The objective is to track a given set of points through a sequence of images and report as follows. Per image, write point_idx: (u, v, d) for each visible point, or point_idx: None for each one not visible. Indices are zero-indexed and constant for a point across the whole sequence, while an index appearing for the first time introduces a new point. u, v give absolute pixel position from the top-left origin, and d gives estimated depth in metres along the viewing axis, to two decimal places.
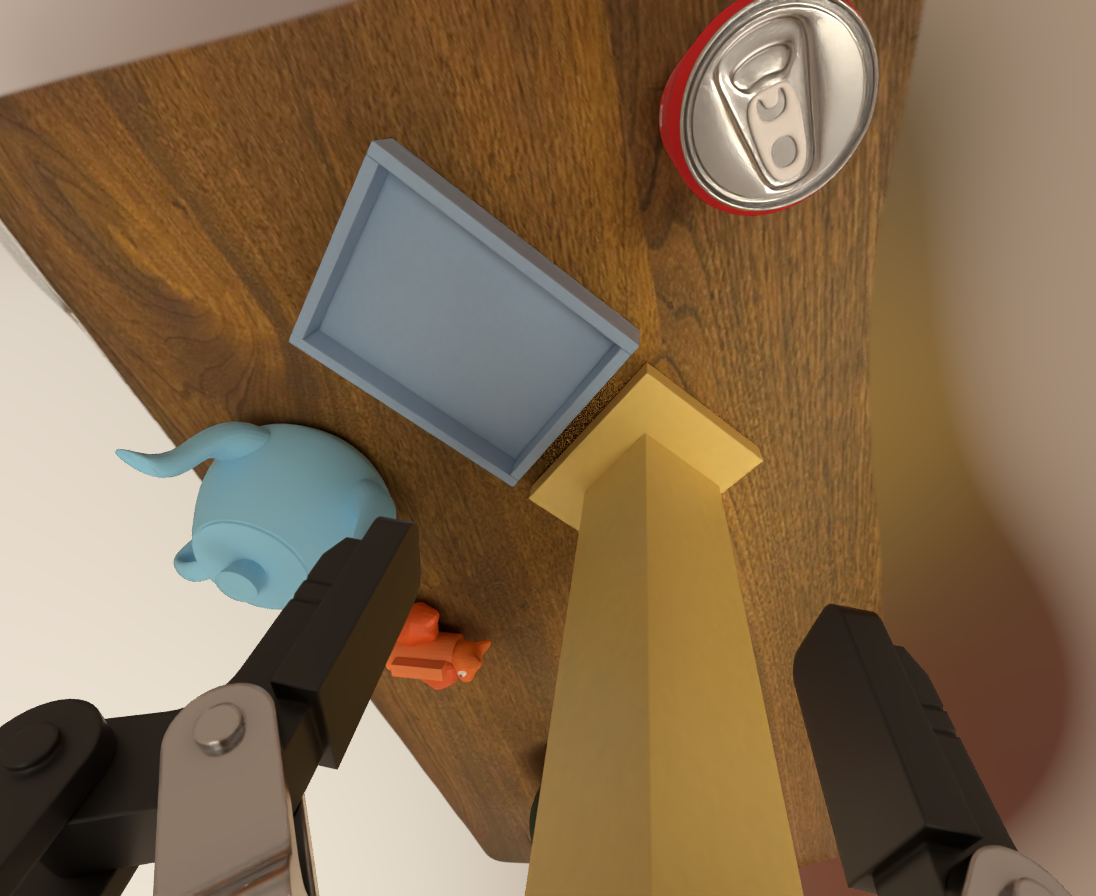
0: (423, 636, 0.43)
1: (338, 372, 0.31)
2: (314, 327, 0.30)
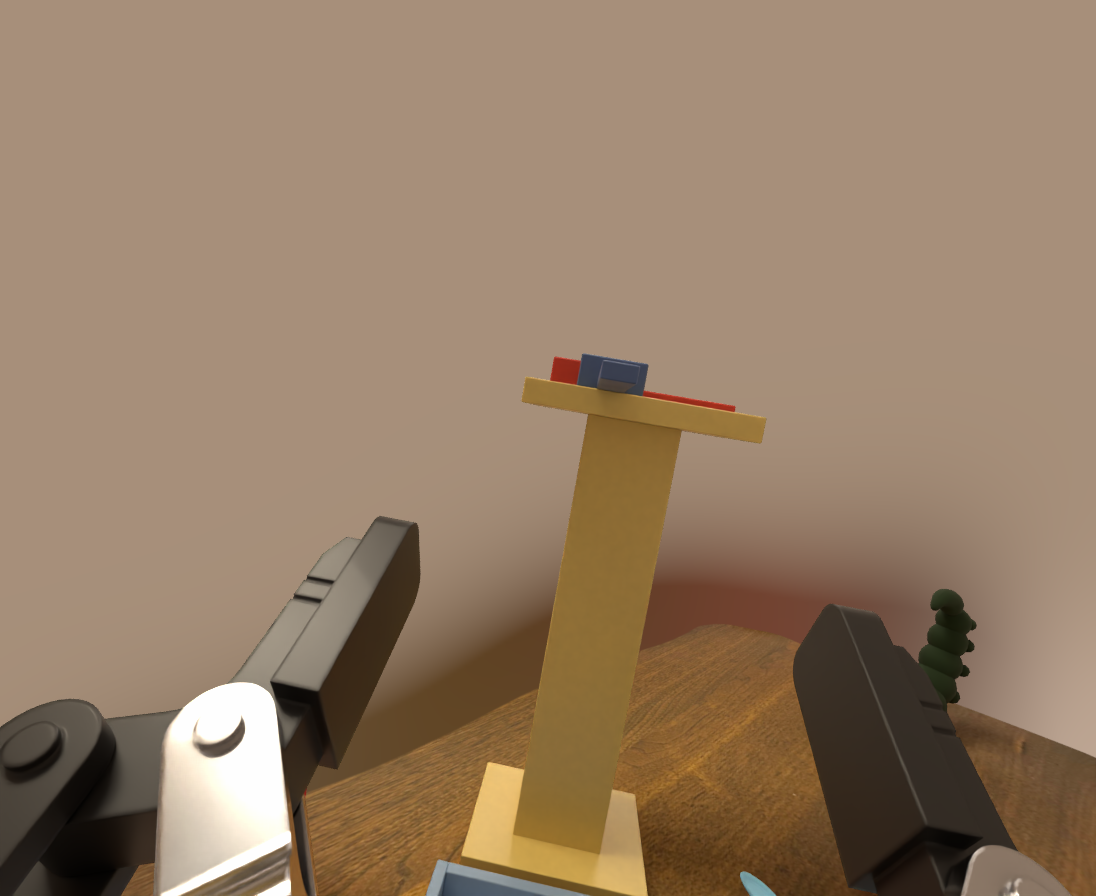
0: None
1: None
2: None
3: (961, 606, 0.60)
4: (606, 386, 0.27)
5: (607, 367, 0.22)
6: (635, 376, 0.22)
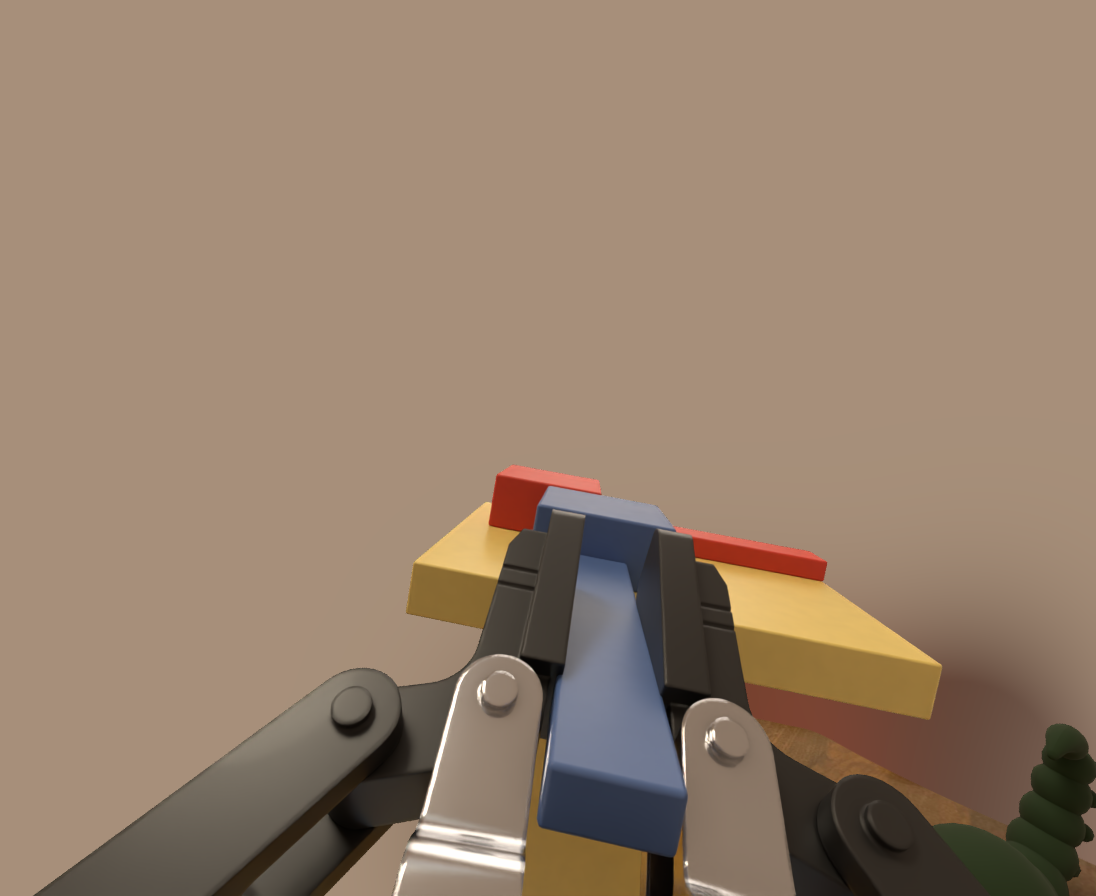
0: None
1: None
2: None
3: (1086, 751, 0.44)
4: None
5: (565, 791, 0.06)
6: (670, 833, 0.06)
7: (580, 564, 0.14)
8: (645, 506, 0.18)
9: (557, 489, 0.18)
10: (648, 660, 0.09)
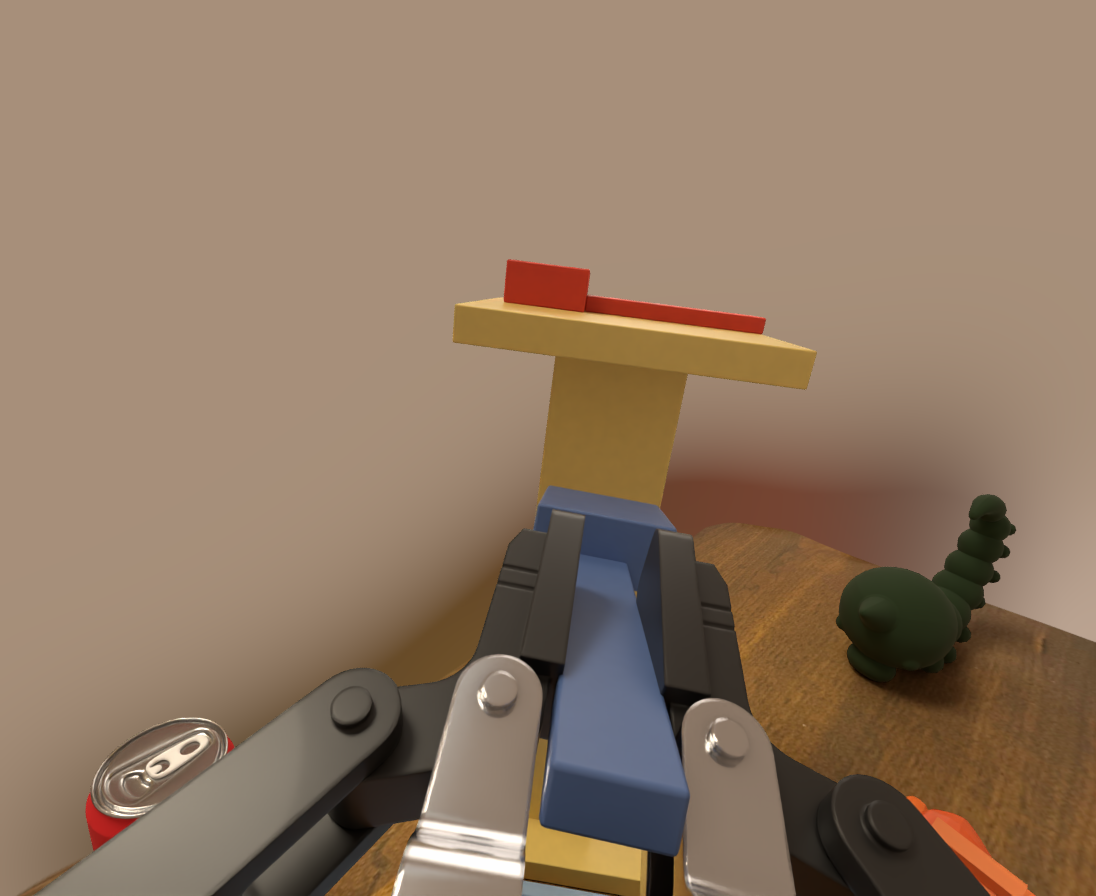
0: None
1: None
2: None
3: (1003, 513, 0.53)
4: None
5: (566, 791, 0.06)
6: (673, 832, 0.06)
7: (580, 563, 0.14)
8: (645, 506, 0.18)
9: (557, 488, 0.18)
10: (649, 659, 0.09)
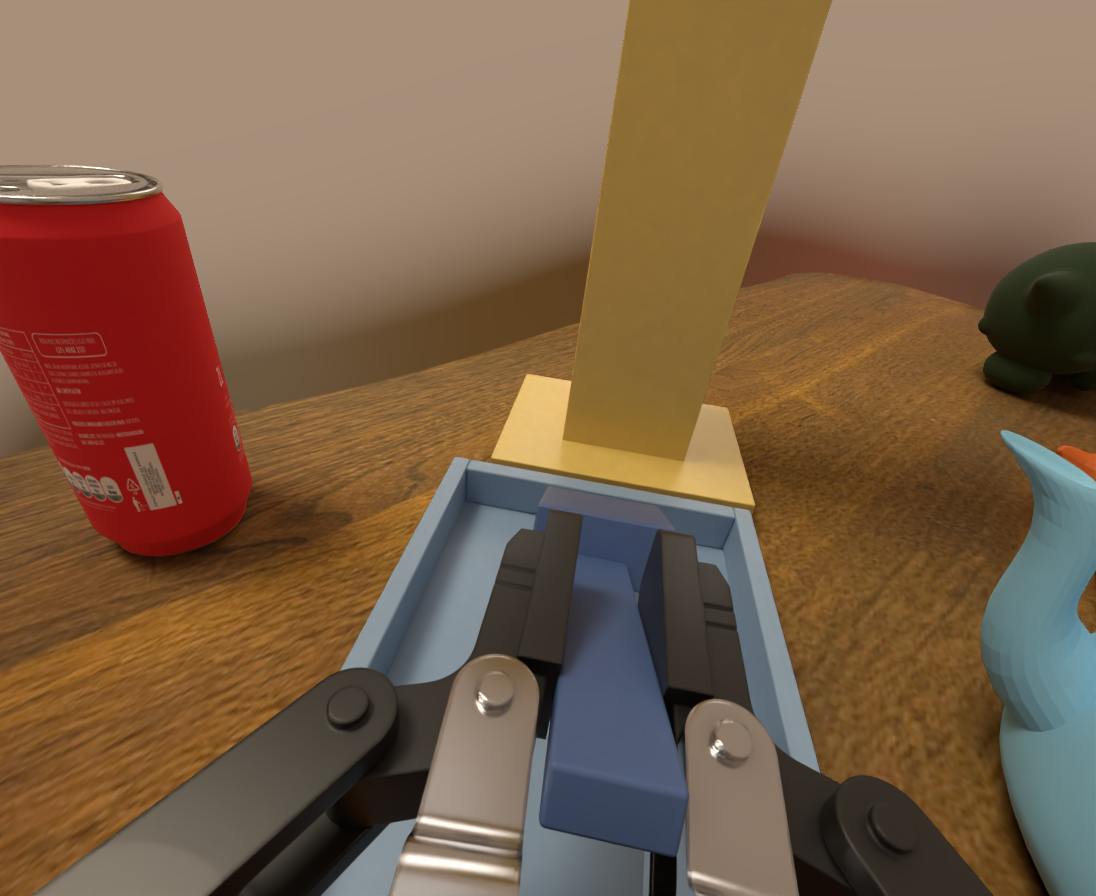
0: None
1: None
2: None
3: None
4: None
5: (567, 792, 0.06)
6: (672, 833, 0.06)
7: (580, 564, 0.14)
8: (645, 506, 0.18)
9: (557, 489, 0.18)
10: (649, 660, 0.09)
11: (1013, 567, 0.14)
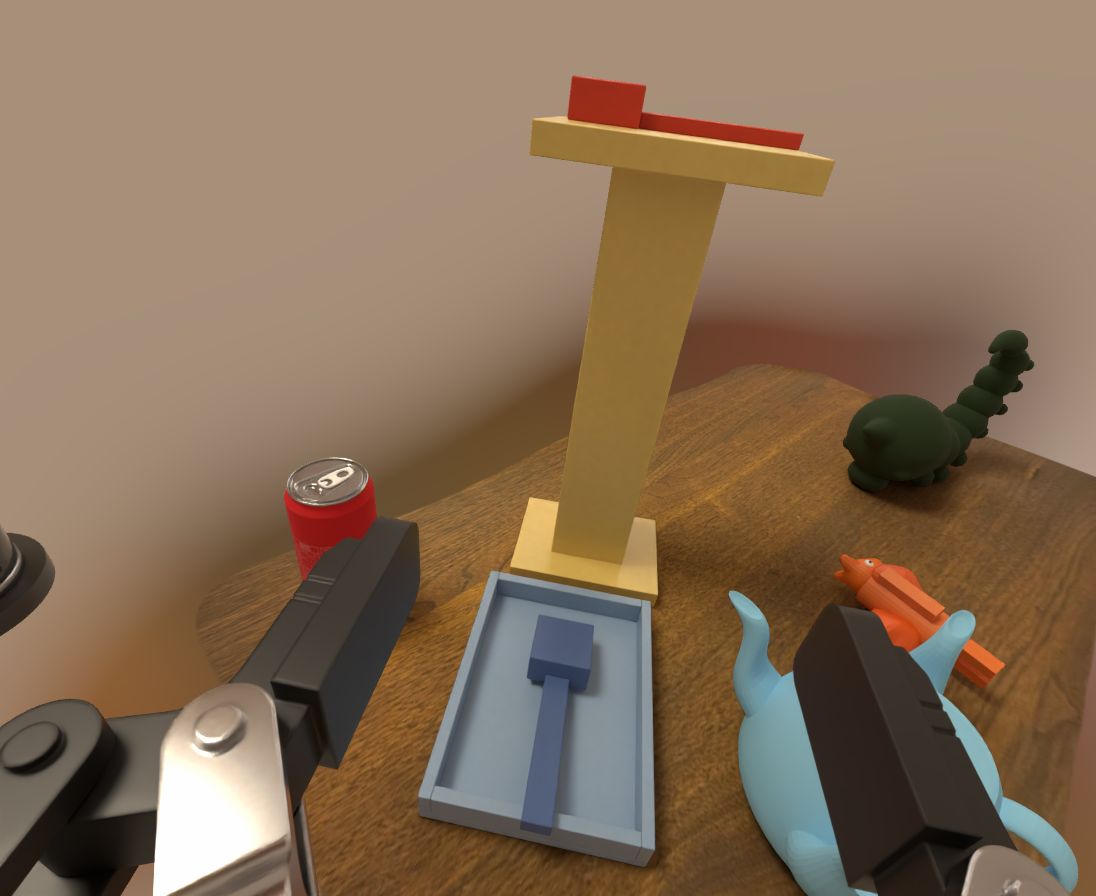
0: (880, 613, 0.40)
1: (651, 780, 0.29)
2: None
3: (1024, 348, 0.56)
4: None
5: (525, 825, 0.26)
6: (548, 832, 0.26)
7: (547, 688, 0.33)
8: (586, 630, 0.36)
9: (542, 621, 0.36)
10: (557, 766, 0.28)
11: None
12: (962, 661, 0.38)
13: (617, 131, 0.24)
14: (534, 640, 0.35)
